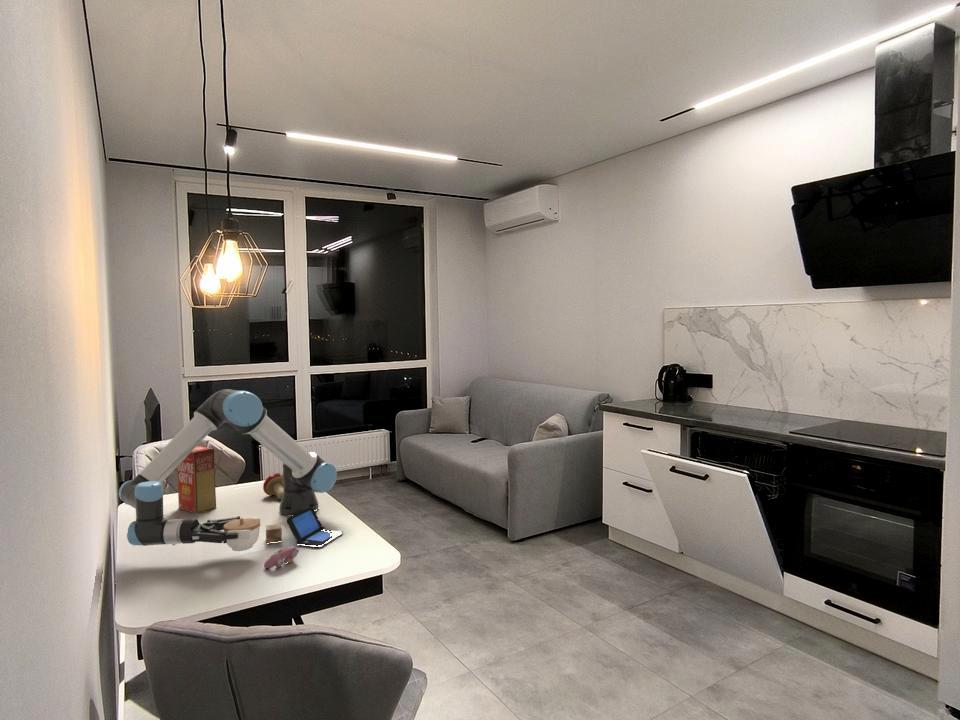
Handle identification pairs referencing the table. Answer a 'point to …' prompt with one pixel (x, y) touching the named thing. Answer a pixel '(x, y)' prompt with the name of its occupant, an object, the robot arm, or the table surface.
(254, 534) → the lidded jar
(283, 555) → the video game controller
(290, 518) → the handheld game console
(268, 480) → the decorative mushroom
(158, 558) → the table surface
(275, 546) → the table surface
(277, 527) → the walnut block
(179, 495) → the food packaging
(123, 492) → the robot arm
